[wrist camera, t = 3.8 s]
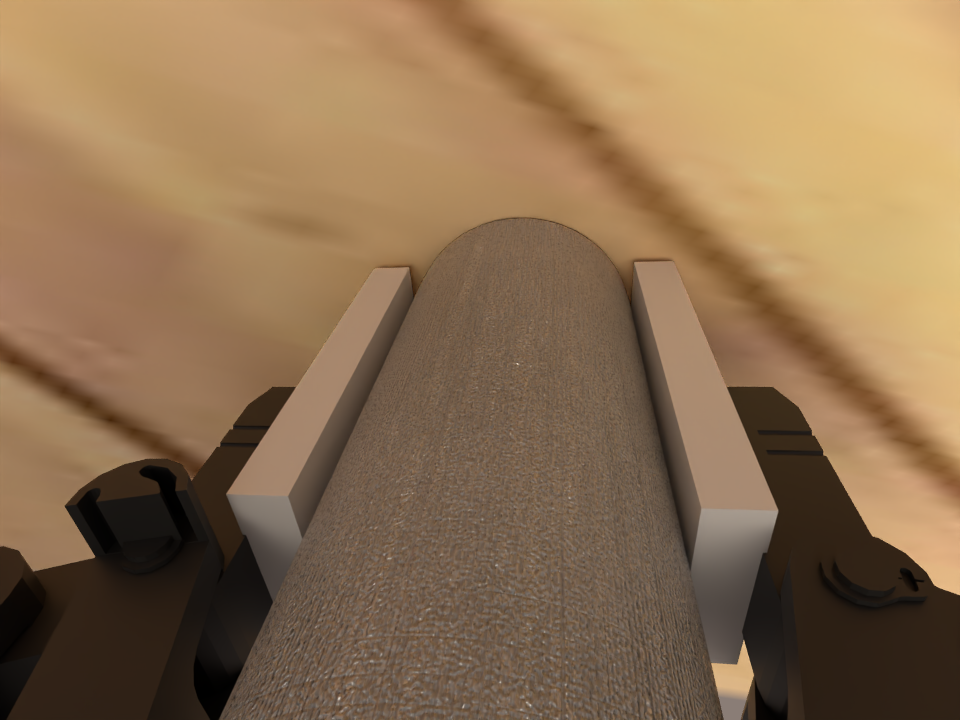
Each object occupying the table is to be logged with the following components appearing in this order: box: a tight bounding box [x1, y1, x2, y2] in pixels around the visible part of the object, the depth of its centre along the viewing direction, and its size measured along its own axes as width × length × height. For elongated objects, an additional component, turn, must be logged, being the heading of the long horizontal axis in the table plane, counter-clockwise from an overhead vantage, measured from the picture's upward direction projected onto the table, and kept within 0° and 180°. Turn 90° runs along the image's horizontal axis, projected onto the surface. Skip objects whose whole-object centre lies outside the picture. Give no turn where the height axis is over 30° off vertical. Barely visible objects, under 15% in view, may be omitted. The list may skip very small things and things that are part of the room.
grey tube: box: [219, 218, 724, 720], centre depth 8 cm, size 4×4×10 cm
